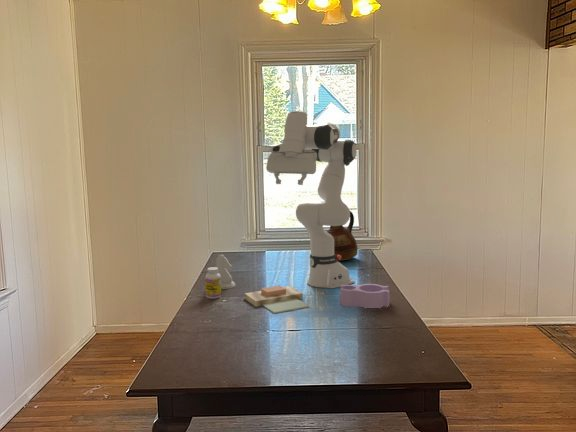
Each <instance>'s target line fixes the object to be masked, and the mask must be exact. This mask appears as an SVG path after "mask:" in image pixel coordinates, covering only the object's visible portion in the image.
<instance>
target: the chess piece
mask: <svg viewBox="0 0 576 432" xmlns="http://www.w3.org/2000/svg"><path fill="white" fill-rule="evenodd" d="M215 267H217V268H218V273H219V274H220V275H221V290H229V289H234V288H235V287H236V283H235V281H233V276H232V275H231V274H230V272H232V270H233V265H232V264H230V262H229V260H228V258H227V257H225V255H224V254H219V255H218V256H217V257H216V259H215Z"/></svg>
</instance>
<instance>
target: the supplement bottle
mask: <svg viewBox="0 0 576 432" xmlns="http://www.w3.org/2000/svg"><path fill="white" fill-rule="evenodd" d="M206 270H207V273H206V275H205V297H206V298H207V299H211V300H215V299H220V298H221V297H222V289H221V275H220V274H219V273H218V268H217V267H216V266H212V267H210V266H209V267H208V268H207V269H206Z"/></svg>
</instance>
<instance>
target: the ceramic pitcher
mask: <svg viewBox="0 0 576 432" xmlns="http://www.w3.org/2000/svg"><path fill="white" fill-rule="evenodd" d="M349 211H350V218H349V223H348V225H347V227H344V225H340V226H329V229H327V231H326V232H327V233H329V234H331V235H332V236H333V238H334V254H336V255H341V256H342V257H341V259H340V260H339V259H337V261H338V262H340V261H345V260H346V261H348V260H350V259H353V258H354V257H356V256H357V255H358V244H357V241H356V238H355V237H354V235H353V233H352V231H353V227H354V224H355V216H354V214H353V212H352V211H351V210H350V209H349Z"/></svg>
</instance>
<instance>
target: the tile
mask: <svg viewBox="0 0 576 432" xmlns="http://www.w3.org/2000/svg"><path fill="white" fill-rule="evenodd" d="M283 287H284V286H281V285H274V286H267V287H262V288H261V289H260V291H261V293H262V294H264V295H265V296H267V297H269V296H275V295H280V294H286V289H285V288H283Z"/></svg>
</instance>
